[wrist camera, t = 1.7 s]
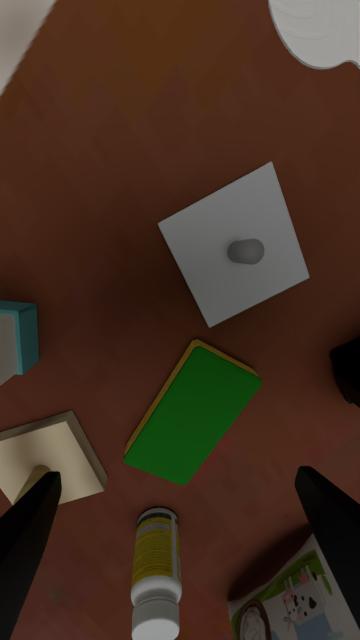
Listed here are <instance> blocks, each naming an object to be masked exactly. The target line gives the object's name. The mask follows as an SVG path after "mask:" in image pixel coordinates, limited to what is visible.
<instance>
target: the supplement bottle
mask: <svg viewBox="0 0 360 640" xmlns="http://www.w3.org/2000/svg"><path fill="white" fill-rule="evenodd" d="M181 592H182V585H181V568H180V549H179V532H178V520H177V517H176V515H175V514H174V513H173V512H172V511H170V510H168V509H165V508H153V509H150V510H148V511H146V512H144V513H143V514H142V515H141V516H140V518H139V520H138V523H137V533H136V543H135V554H134V564H133V575H132V585H131V600H132V603H133V605H134V606H135V607H134V610H133V615H132V638H133V640H174V639H175V638H176V637H177V635H178V633H179V607H178V604H177V603H178V602H179V600H180V597H181Z"/></svg>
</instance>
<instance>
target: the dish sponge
mask: <svg viewBox="0 0 360 640" xmlns="http://www.w3.org/2000/svg"><path fill="white" fill-rule="evenodd" d="M261 385H262V381H261V379H260V378H259V376H258V375H257V373H256V372H255V371H254V369H252V368H250V367H248V366H246V365H244V364H243V363H241V362H239V361H237V360H235V359H233V358H231V357H230V356H228V355H226V354H224V353H222V352H220V351H219V350H217V349H215V348H213V347H211V346H209V345H207V344H206V343H204V342H202V341H200V340H198V339H196V340H193V341H192V342H191V344H190V345H189V347H188V348H187V350H186V351H185V353H184V355H183V356H182V358H181V359H180V361H179V362H178V364H177V366H176V367H175V369H174V370H173V372H172V373H171V375H170V377H169V378H168V380H167V381H166V383H165V385H164V386H163V388H162V389H161V391H160V392H159V394H158V396H157V397H156V399H155V400H154V402H153V403H152V405H151V407H150V408H149V410H148V411H147V413H146V414H145V416H144V418H143V419H142V421H141V422H140V424H139V425H138V427H137V429H136V430H135V432H134V433H133V435H132V436H131V438H130V440H129V441H128V443H127V444H126V449H125V456H124V459H123V460H124V462H125V464H128V465H130V466H133V467H135V468H138V469H141V470H143V471H146V472H148V473H151V474H154V475H156V476H159V477H161V478H164V479H167V480H169V481H172V482H174V483H177V484H179V485H186V484H187V483H188V482H189V481H190V479H191V478H192V477H193V475H194V474H195V473H196V471H197V470H198V469H199V467H200V466H201V465H202V463H203V462H204V461H205V459H206V458H207V457H208V455H209V454H210V453H211V451H212V450H213V449H214V447H215V446H216V445H217V443H218V442H219V441H220V439H221V438H222V437H223V435H224V434H225V433H226V431H227V430H228V429H229V427H230V426H231V425H232V423H233V422H234V421H235V419H236V418H237V417H238V415H239V414H240V413H241V411H242V410H243V409H244V407H245V406H246V405H247V403H248V402H249V401H250V399H251V398H252V397H253V396H254V394H255V393H256V392H257V390H258V389H259V388H260V386H261Z"/></svg>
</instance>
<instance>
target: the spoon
mask: <svg viewBox="0 0 360 640" xmlns="http://www.w3.org/2000/svg"><path fill="white" fill-rule="evenodd" d="M268 5H269V10H270V13H271V17H272V20H273V23H274V26H275V29H276V31H277V34H279V36H280V38H281V40H282V42H283V44H284V45H285V46H286V48H287V49H288V50H289V52H290V54H292V55H293V56H294V57H295V58H296V59H297V60H299V61H300V62H301V63H302V64H304V65H306V66H309V67H311V68H313V69H316V70H317V69H331V68H334V67H336V66H338V65H340V64H341V63H344V62H352V63H353V64H356V65H357V67H358V68H359V69H360V0H268Z"/></svg>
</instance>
